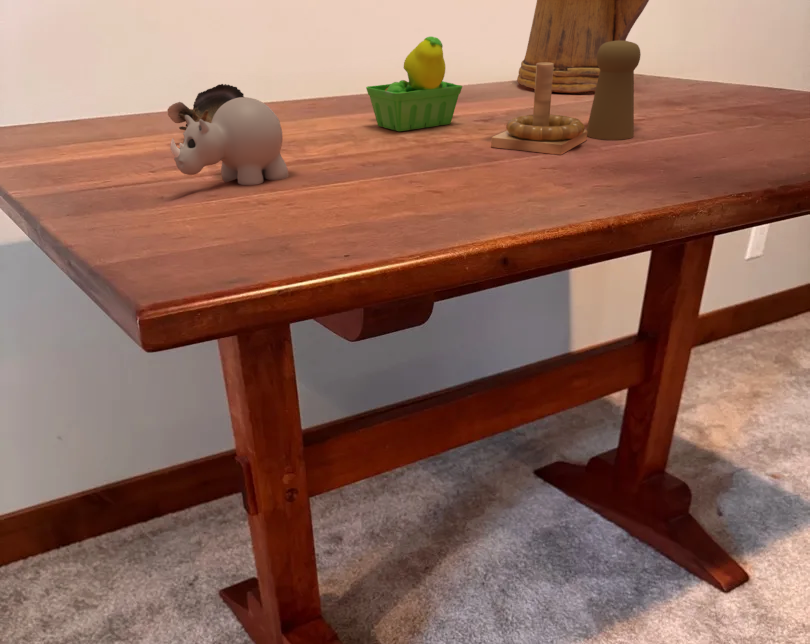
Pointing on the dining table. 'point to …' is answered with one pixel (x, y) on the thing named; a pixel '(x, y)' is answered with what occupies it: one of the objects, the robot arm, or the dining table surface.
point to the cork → (614, 92)
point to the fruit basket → (417, 92)
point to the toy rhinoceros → (235, 143)
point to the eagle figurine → (204, 104)
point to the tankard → (575, 39)
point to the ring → (545, 128)
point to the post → (539, 120)
